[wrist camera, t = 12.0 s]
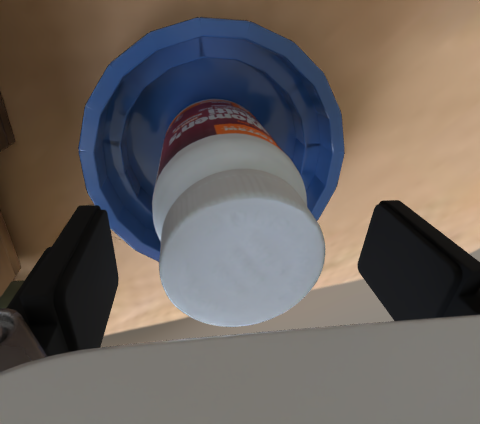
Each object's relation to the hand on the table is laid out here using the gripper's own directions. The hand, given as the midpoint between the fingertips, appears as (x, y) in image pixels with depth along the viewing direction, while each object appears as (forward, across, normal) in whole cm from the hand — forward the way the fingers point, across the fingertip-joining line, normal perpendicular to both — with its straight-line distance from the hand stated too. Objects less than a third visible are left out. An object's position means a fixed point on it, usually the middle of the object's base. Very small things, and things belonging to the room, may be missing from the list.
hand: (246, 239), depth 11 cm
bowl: (+10, 0, 0) cm, 10 cm away
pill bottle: (+10, 0, 0) cm, 10 cm away
